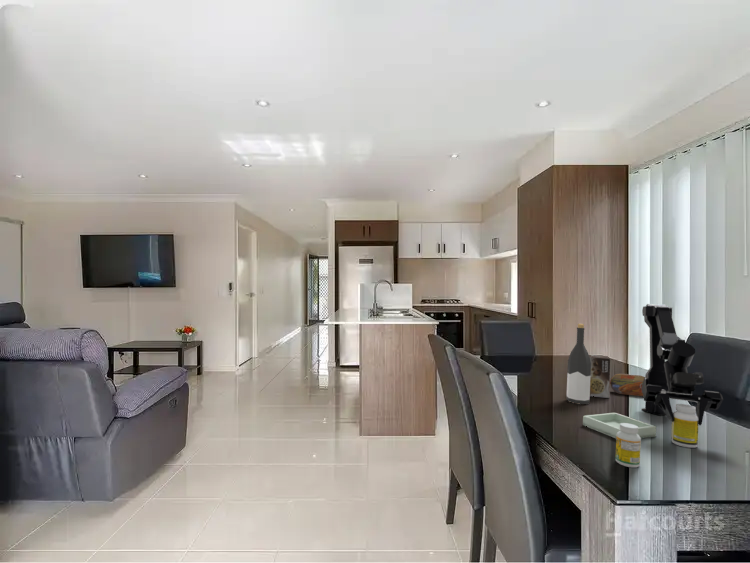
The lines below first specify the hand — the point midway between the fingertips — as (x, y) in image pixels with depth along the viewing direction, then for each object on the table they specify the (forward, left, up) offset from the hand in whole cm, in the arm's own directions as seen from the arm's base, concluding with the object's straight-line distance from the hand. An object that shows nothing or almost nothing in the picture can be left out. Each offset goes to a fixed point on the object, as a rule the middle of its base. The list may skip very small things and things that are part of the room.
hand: (686, 422), depth 122 cm
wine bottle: (-6, -44, -7) cm, 45 cm away
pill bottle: (-1, -1, -7) cm, 7 cm away
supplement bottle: (+28, +4, -7) cm, 29 cm away
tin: (-39, -48, -7) cm, 62 cm away
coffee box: (-22, -50, -7) cm, 55 cm away
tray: (+8, -15, -7) cm, 18 cm away
